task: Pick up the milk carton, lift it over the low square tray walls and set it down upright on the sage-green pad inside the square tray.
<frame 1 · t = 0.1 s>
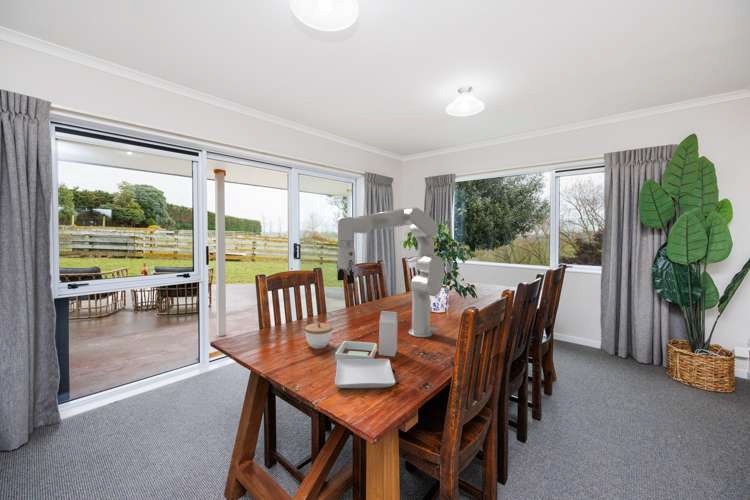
hand: (345, 281, 146), 31 cm above the table, tool pointing down, fingers open, 9 cm apart
salad plate: (364, 379, 120), on the table
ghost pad: (356, 356, 140), resting in square tray
lidded bowl: (318, 346, 151), on the table
square tray: (356, 356, 140), on the table
milk carton: (387, 353, 144), on the table
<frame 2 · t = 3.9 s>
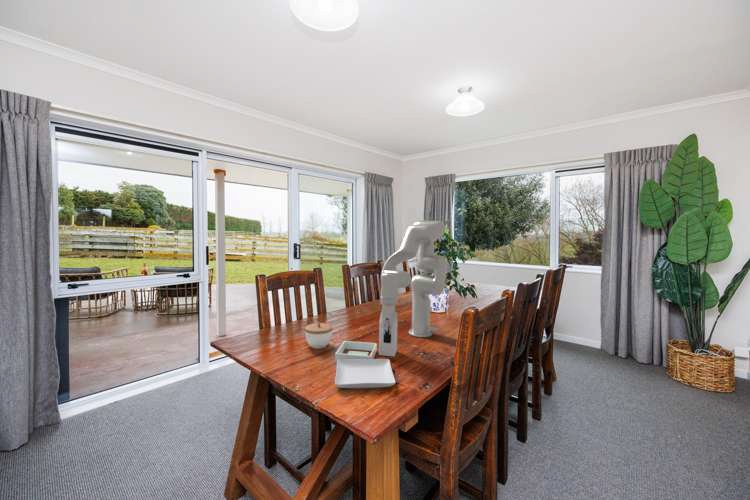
hand: (388, 339, 144), 6 cm above the table, tool pointing down, fingers closed on milk carton, 7 cm apart
milk carton: (387, 353, 144), on the table, touching gripper
everything else where it was.
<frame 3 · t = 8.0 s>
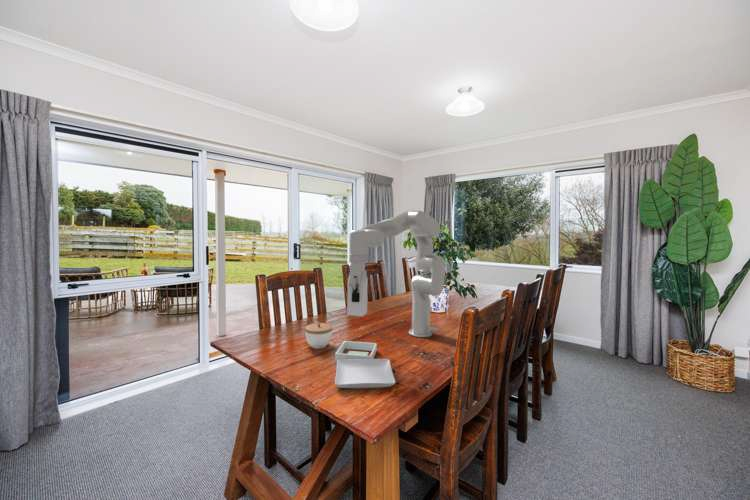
hand: (357, 299, 138), 25 cm above the table, tool pointing down, fingers closed on milk carton, 7 cm apart
milk carton: (357, 314, 139), point 19 cm above the table, touching gripper
everything else where it was.
when the fingers open (8 cm above the table, at t = 11.9 s): milk carton moves 1 cm, resting on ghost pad.
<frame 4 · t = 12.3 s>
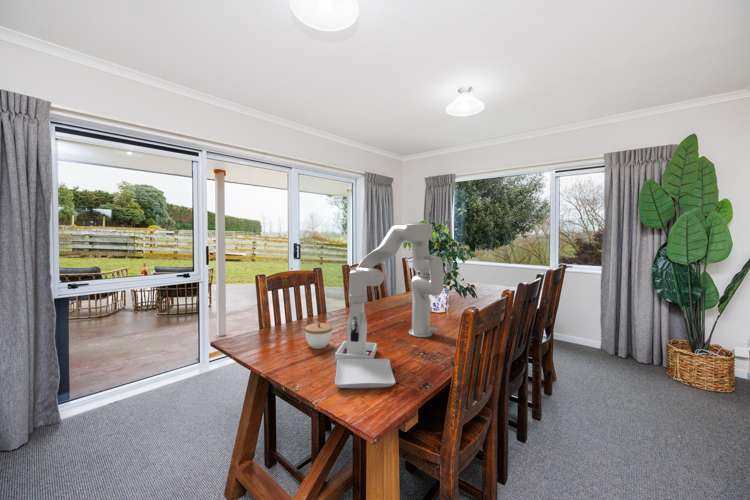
hand: (357, 337, 140), 8 cm above the table, tool pointing down, fingers open, 9 cm apart
milk carton: (356, 356, 140), resting on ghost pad
everything else where it was.
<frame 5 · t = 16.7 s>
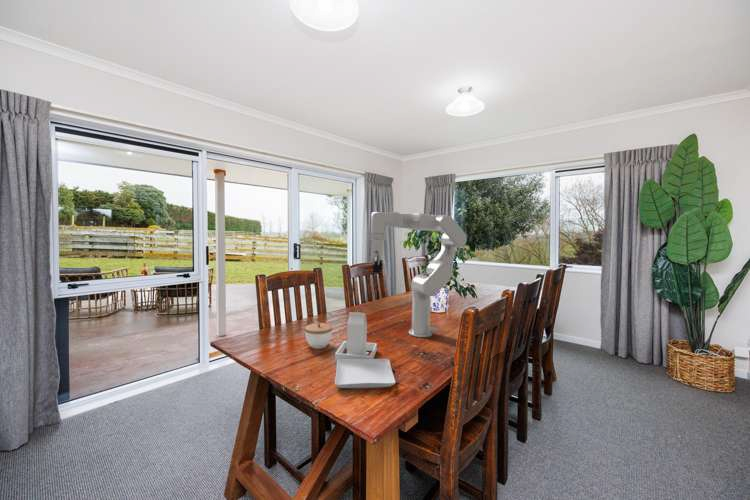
hand: (377, 271, 161), 34 cm above the table, tool pointing down, fingers open, 9 cm apart
nothing on the table moved.
at the end: milk carton inside the target area on the square tray (0.2 cm from its centre), point 0.1 cm above the square tray's base; milk carton tilted 0°; the gripper is holding nothing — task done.
